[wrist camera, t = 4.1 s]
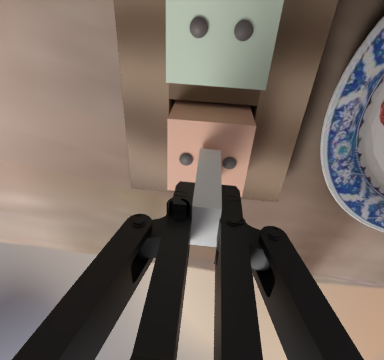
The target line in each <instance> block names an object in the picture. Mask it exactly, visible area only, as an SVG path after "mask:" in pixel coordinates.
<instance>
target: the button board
mask: <svg viewBox="0 0 384 360" xmlns="http://www.w3.org/2000/svg"><path fill="white" fill-rule="evenodd" d="M338 1H339V0H284V3H283V8H282V13H281V18H280V22H279V27H278V32H277V37H276V42H275V47H274V52H273V56H272V61H271V66H270V71H269V76H268V81H267V86H266V90H256V89H243V88H229V87H216V86H203V85H190V84H177V83H166V0H114V8H115V19H116V30H117V40H118V51H119V62H120V72H121V83H122V94H123V104H124V115H125V126H126V137H127V147H128V158H129V169H130V179H131V188H132V189H142V190H153V191H164V192H175V191H172V190H167V119H168V116H169V114H170V112H171V110H172V107H173V105H174V99H177V100H189V101H202V102H215V103H228V104H240V105H251V111H252V114H253V117H254V120H255V123H256V130H255V135H254V140H253V145H252V150H251V155H250V160H249V165H248V170H247V175H246V180H245V185H244V190H243V195H242V197H241V199H251V200H261V201H272V202H278V200H279V196H280V193H281V190H282V186H283V183H284V180H285V176H286V173H287V170H288V166H289V163H290V160H291V157H292V153H293V150H294V147H295V143H296V140H297V137H298V133H299V130H300V127H301V123H302V120H303V117H304V113H305V110H306V107H307V104H308V100H309V97H310V94H311V90H312V87H313V84H314V80H315V77H316V74H317V70H318V67H319V64H320V60H321V57H322V54H323V51H324V47H325V44H326V41H327V37H328V34H329V31H330V27H331V24H332V21H333V17H334V14H335V11H336V7H337V4H338Z"/></svg>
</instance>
